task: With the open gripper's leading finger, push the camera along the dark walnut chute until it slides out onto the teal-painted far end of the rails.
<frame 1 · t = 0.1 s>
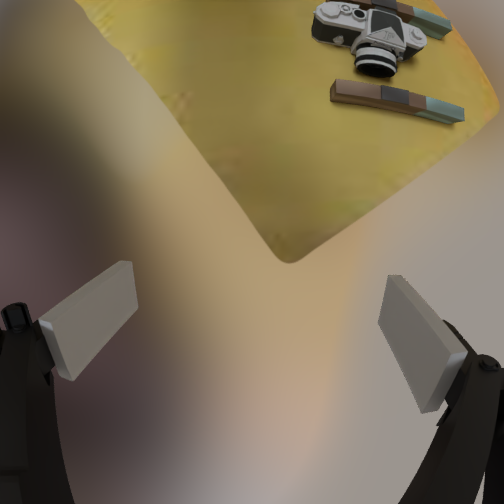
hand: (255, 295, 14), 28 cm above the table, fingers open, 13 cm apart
rail 1: (394, 104, 33), on the table
camera: (360, 51, 32), on the table
rail 2: (386, 19, 29), on the table
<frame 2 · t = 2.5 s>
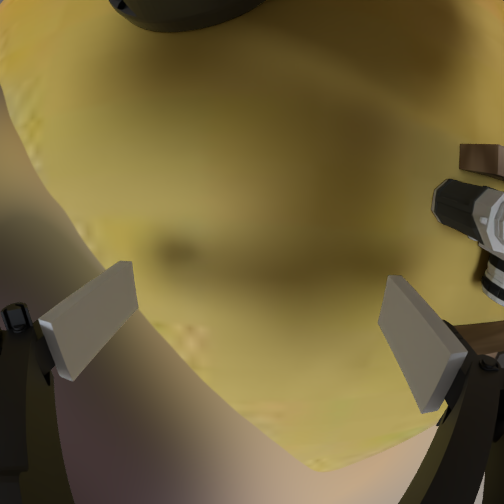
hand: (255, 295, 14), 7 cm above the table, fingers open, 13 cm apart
rail 1: (494, 329, 21), on the table
camera: (488, 235, 18), on the table
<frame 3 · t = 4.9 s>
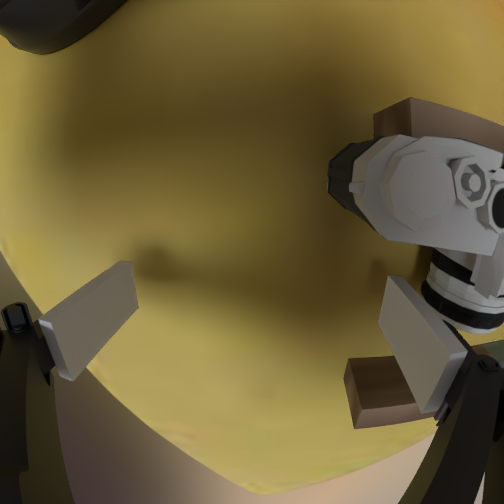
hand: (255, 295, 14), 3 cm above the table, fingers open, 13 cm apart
rail 1: (454, 358, 18), on the table
camera: (434, 221, 15), on the table, touching gripper
rail 2: (497, 157, 13), on the table
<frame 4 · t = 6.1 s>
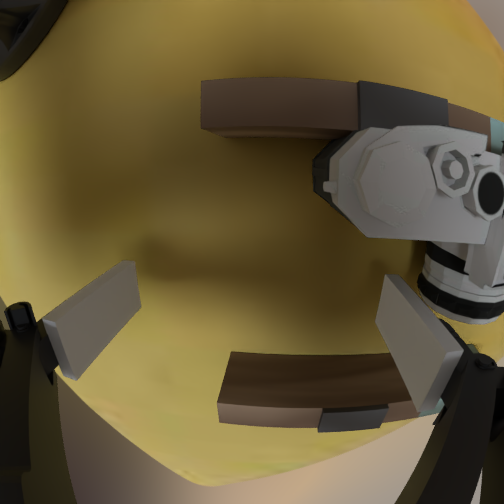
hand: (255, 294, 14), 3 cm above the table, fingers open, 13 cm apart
rail 1: (367, 364, 18), on the table
camera: (428, 211, 15), on the table, touching gripper
rail 2: (400, 131, 13), on the table
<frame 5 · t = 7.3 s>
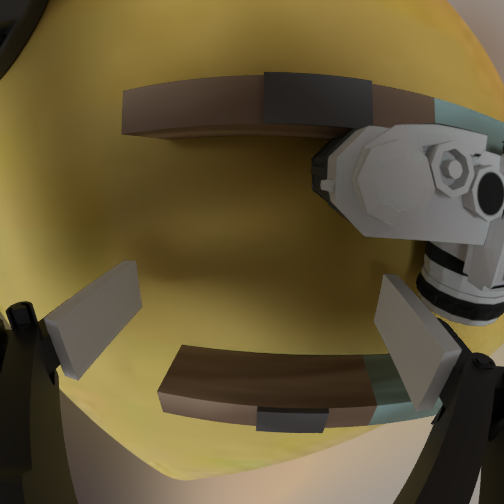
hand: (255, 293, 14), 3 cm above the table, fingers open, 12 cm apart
rail 1: (319, 366, 19), on the table
camera: (427, 211, 15), on the table, touching gripper, rail 2
rail 2: (343, 122, 14), on the table
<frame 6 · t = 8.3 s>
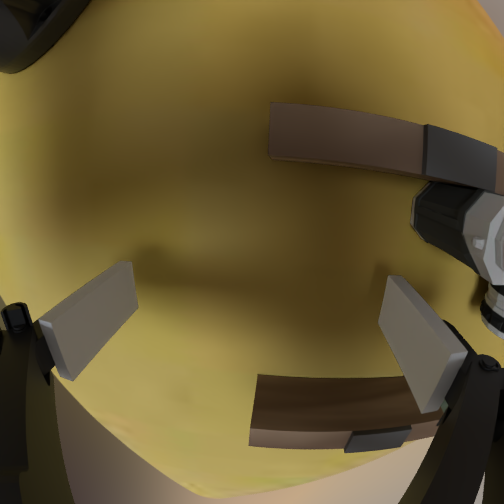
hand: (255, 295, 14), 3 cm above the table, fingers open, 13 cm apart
rail 1: (387, 386, 18), on the table
camera: (488, 248, 14), on the table
rail 2: (440, 166, 13), on the table
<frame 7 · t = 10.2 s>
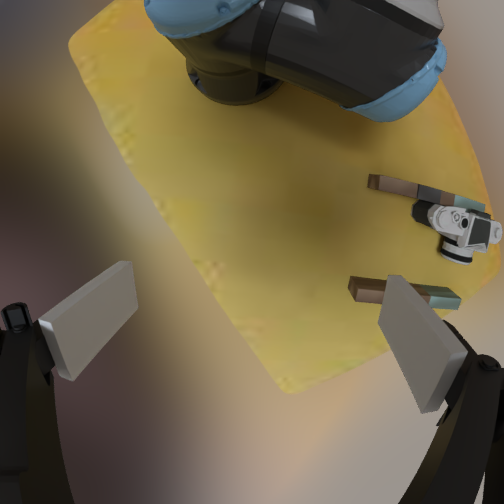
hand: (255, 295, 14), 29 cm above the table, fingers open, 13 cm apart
rail 1: (402, 288, 42), on the table
camera: (444, 227, 39), on the table
rail 2: (423, 193, 38), on the table
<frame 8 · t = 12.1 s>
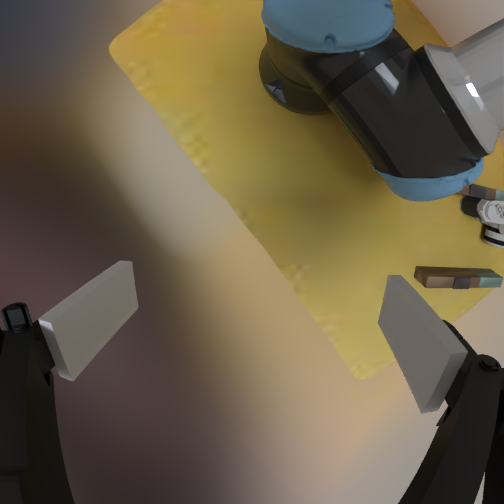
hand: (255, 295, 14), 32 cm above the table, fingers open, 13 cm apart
rail 1: (456, 272, 43), on the table
camera: (484, 217, 40), on the table
rail 2: (469, 189, 39), on the table
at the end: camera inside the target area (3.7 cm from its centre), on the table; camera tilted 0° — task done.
